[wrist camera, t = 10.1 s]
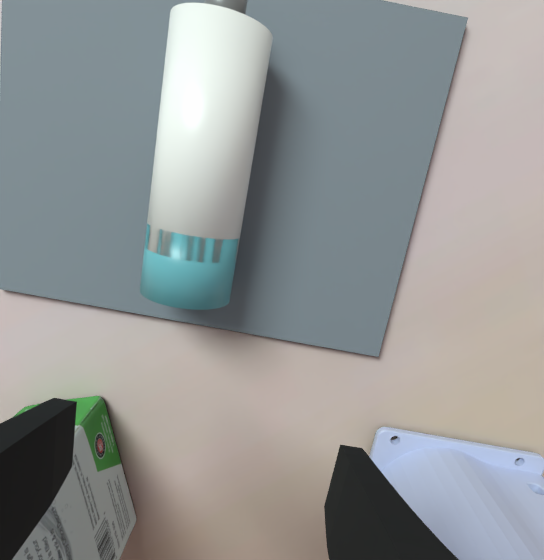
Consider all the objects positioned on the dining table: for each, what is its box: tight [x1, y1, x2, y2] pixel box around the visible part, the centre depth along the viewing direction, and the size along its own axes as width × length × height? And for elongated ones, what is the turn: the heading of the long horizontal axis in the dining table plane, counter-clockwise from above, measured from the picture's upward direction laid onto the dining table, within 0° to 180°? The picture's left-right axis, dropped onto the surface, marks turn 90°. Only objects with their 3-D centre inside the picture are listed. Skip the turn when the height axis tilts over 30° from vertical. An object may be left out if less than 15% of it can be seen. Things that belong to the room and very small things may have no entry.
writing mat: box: [0, 0, 468, 357], centre depth 19 cm, size 20×16×1 cm
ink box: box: [12, 396, 136, 560], centre depth 17 cm, size 9×5×12 cm, turn 8°
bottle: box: [140, 0, 273, 310], centre depth 17 cm, size 4×12×4 cm, turn 170°
